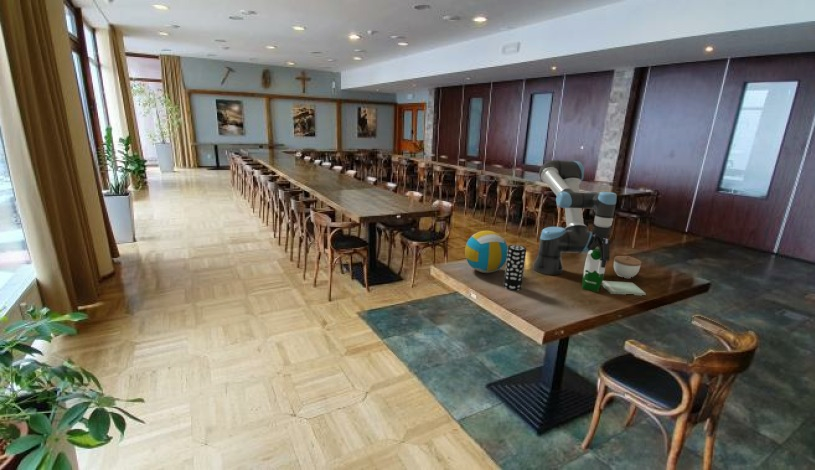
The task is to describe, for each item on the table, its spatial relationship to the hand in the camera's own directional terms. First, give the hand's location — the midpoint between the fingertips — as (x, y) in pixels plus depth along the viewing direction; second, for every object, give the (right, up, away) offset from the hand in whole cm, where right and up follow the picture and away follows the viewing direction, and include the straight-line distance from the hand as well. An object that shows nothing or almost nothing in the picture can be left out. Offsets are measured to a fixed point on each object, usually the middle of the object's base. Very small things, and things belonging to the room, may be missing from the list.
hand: (595, 268), depth 191 cm
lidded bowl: (+26, -6, +21) cm, 34 cm away
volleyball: (-49, -3, +19) cm, 53 cm away
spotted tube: (-40, -9, 0) cm, 41 cm away
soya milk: (0, -10, +3) cm, 11 cm away
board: (+15, -10, +3) cm, 18 cm away
